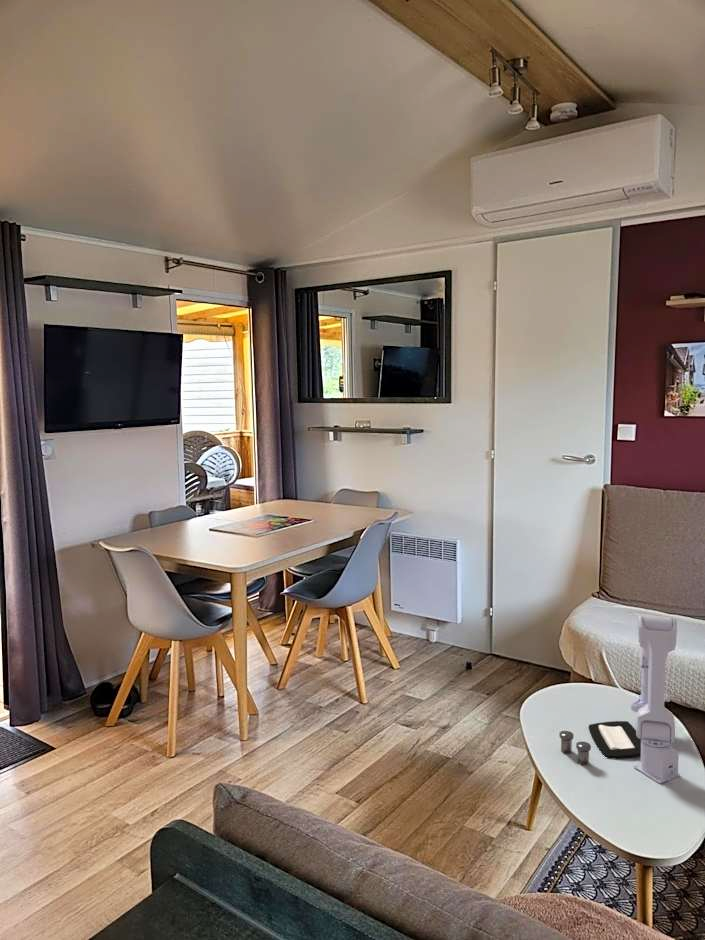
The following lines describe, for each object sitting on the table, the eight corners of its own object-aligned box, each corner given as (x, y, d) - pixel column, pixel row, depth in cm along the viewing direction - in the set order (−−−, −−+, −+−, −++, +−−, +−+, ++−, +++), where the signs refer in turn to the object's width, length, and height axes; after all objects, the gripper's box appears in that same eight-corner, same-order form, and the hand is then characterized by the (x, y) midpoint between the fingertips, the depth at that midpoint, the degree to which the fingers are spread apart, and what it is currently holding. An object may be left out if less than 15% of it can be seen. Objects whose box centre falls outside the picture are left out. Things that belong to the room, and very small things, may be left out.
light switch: (584, 720, 225) (629, 716, 224) (585, 729, 226) (630, 725, 225) (603, 754, 206) (652, 750, 205) (603, 763, 206) (652, 759, 205)
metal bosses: (593, 764, 204) (593, 746, 203) (583, 767, 202) (583, 750, 202) (566, 746, 214) (566, 729, 213) (556, 749, 212) (556, 732, 211)
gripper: (657, 676, 226) (656, 716, 228) (623, 686, 219) (623, 727, 221) (676, 684, 219) (674, 726, 221) (642, 695, 213) (640, 737, 215)
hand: (650, 727), depth 221 cm, fingers closed
